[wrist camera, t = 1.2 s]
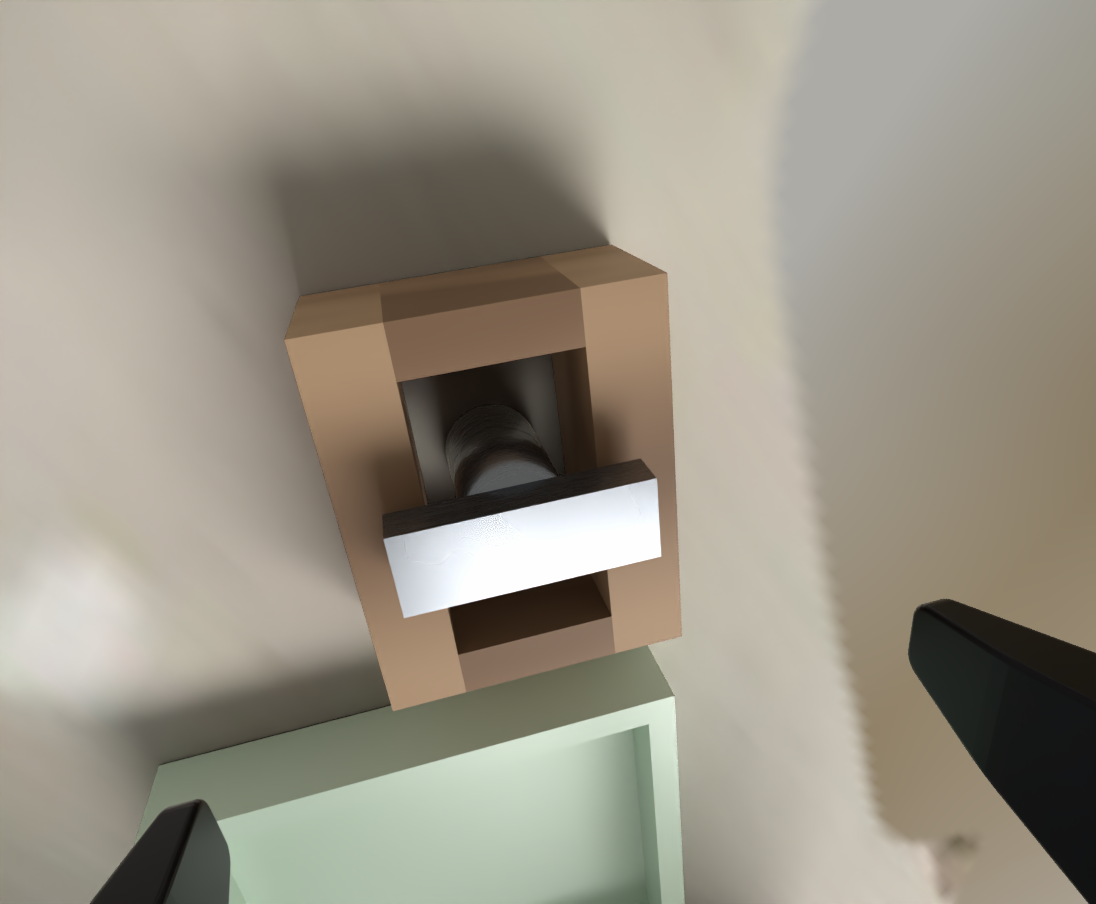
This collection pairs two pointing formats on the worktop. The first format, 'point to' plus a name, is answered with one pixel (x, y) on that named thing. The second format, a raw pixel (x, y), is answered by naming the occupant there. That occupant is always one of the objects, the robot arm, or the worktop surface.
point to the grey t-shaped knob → (516, 518)
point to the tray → (459, 797)
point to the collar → (586, 430)
